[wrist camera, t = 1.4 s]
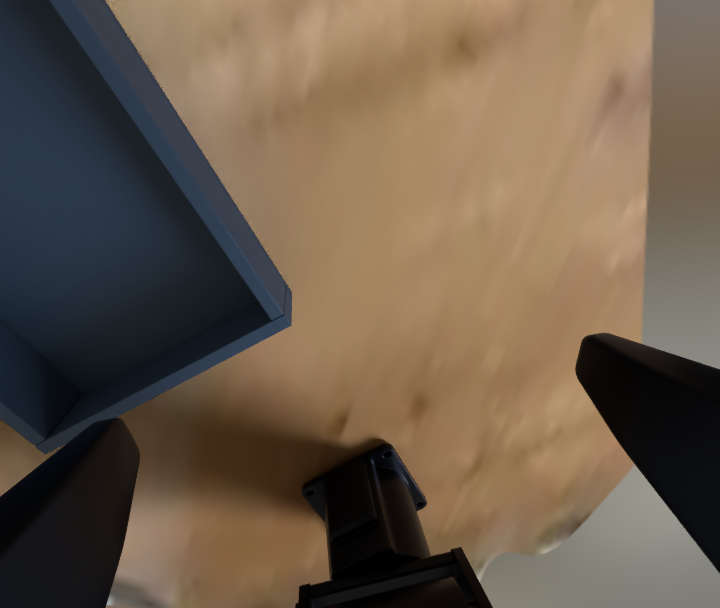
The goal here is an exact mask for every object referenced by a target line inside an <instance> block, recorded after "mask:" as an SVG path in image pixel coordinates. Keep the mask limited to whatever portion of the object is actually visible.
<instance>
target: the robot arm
mask: <svg viewBox="0 0 720 608" xmlns="http://www.w3.org/2000/svg"><path fill="white" fill-rule="evenodd" d="M575 371H576V375H577V378H578V380H579V382H580V383H581V385H582V386H583V388H584V390H585V391H586V393H587V394H588V396H589V397H590V399H591V400H592V402H593V404H594V405H595V407H596V408H597V410H598V411H599V413H600V415H601V416H602V418H603V419H604V421H605V422H606V424H607V426H608V427H609V429H610V430H611V432H612V433H613V435H614V436H615V438H616V439H617V441H618V442H619V444H620V445H621V447H622V448H623V449H624V451H625V452H626V453H627V455H628V456H629V457H630V459H631V460H632V461H633V462H634V464H635V465H636V466H637V468H638V469H639V470H640V471H641V473H642V474H643V475H644V476H645V478H646V479H647V480H648V482H649V483H650V484H651V485H652V487H653V488H654V489H655V491H656V492H657V493H658V495H659V496H660V497H661V498H662V500H663V501H664V502H665V504H666V505H667V506H668V507H669V509H670V510H671V511H672V513H673V514H674V515H675V516H676V517H677V519H678V520H679V522H680V523H681V524H682V525H683V527H684V528H685V529H686V531H687V532H688V533H689V535H690V536H691V537H692V538H693V540H694V541H695V542H696V543H697V545H698V546H699V547H700V549H701V550H702V551H703V553H704V554H705V555H706V556H707V558H708V559H709V560H710V562H711V563H712V564H713V565H714V567H715V568H716V569H717V571H718V572H719V573H720V369H717V368H714V367H711V366H707V365H704V364H702V363H698V362H695V361H692V360H689V359H686V358H683V357H680V356H677V355H673V354H670V353H668V352H664V351H661V350H658V349H655V348H652V347H649V346H646V345H643V344H640V343H637V342H634V341H631V340H627V339H624V338H621V337H618V336H615V335H612V334H609V333H599V334H593V335H588V336H586V337H584V339H583V340H582V342H581V346H580V350H579V354H578V358H577V362H576V367H575ZM387 451H388V452H387ZM385 452H387V453H385ZM139 462H140V452H139V449H138V446H137V444H136V442H135V441H134V439H133V437H132V435H131V433H130V431H129V429H128V428H127V426H126V424H125V422H124V421H123V420H122V419H120V418H112V419H107V420H101V421H97V422H94V423H92V424H91V425H90V426H88V427H87V428H86V429H85V430H83V431H82V432H81V433H80V434H78V435H77V436H76V437H75V438H73V439H72V440H71V441H70V442H68V443H67V444H66V445H65V446H63V447H62V448H61V449H60V450H58V451H57V452H56V453H54V454H53V455H52V456H51V457H49V458H48V459H47V460H46V461H44V462H43V463H42V464H41V465H39V466H38V467H37V468H36V469H34V470H33V471H32V472H31V473H29V474H28V475H27V476H26V477H24V478H23V479H22V480H21V481H19V482H18V483H17V484H16V485H14V486H13V487H12V488H11V489H9V490H8V491H7V492H6V493H4V494H3V495H2V496H1V497H0V608H105V607H106V604H107V601H108V597H109V594H110V591H111V587H112V584H113V581H114V577H115V574H116V570H117V567H118V564H119V560H120V556H121V553H122V549H123V545H124V541H125V536H126V531H127V526H128V521H129V515H130V510H131V505H132V499H133V494H134V489H135V484H136V478H137V473H138V468H139ZM309 490H310V491H309ZM302 495H303V497H304V498H305V499H306V500H307V501H308V503H309V504H310V505H311V506H312V507H313V508H314V509H315V511H316V512H317V513H318V514H319V515H320V516H321V517H322V519H323V520H324V521H325V522H326V535H327V547H328V559H329V572H330V581H326V582H322V583H318V584H314V585H310V583H309V584H305V585H301V586H300V587H299V601H298V603H296V606H295V608H493V607H492V605H491V603H490V601H489V600H488V598H487V596H486V594H485V592H484V590H483V588H482V586H481V584H480V582H479V580H478V579H477V577H476V575H475V573H474V571H473V569H472V567H471V565H470V563H469V561H468V560H467V558H466V556H465V554H464V552H463V550H462V548H461V547H458V548H454V549H451V551H450V552H446V553H442V554H438V555H434V556H431V554H430V551H429V548H428V545H427V542H426V539H425V536H424V533H423V530H422V527H421V523H420V520H419V517H418V514H417V511H418V510H420V509H422V508H424V507H425V506H426V504H427V502H426V499H425V496H424V495H423V493H422V491H421V490H420V488H419V487H418V485H417V484H416V482H415V480H414V479H413V477H412V476H411V474H410V473H409V471H408V469H407V468H406V466H405V465H404V463H403V462H402V460H401V458H400V457H399V455H398V454H397V452H396V451H395V449H394V447H393V446H392V445H390V444H384V445H381V446H379V447H377V448H375V449H373V450H371V451H369V452H367V453H365V454H363V455H361V456H359V457H357V458H355V459H353V460H351V461H349V462H347V463H345V464H343V465H341V466H339V467H337V468H335V469H333V470H331V471H329V472H327V473H325V474H323V475H321V476H319V477H317V478H315V479H313V480H311V481H309V482H307V483H305V484H304V485H303V486H302Z"/></svg>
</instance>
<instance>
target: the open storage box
mask: <svg viewBox="0 0 720 608" xmlns="http://www.w3.org/2000/svg"><path fill="white" fill-rule="evenodd" d="M291 314H292V292H291V290H290V289H289V287H288V285H287V284H286V282H285V281H284V279H283V278H282V276H281V275H280V273H279V271H278V270H277V268H276V267H275V265H274V264H273V262H272V261H271V259H270V257H269V256H268V254H267V253H266V251H265V250H264V248H263V246H262V245H261V243H260V242H259V240H258V239H257V237H256V236H255V234H254V232H253V231H252V229H251V228H250V226H249V225H248V223H247V221H246V220H245V218H244V217H243V215H242V214H241V212H240V211H239V209H238V207H237V206H236V204H235V203H234V201H233V200H232V198H231V196H230V195H229V193H228V192H227V190H226V189H225V187H224V186H223V184H222V182H221V181H220V179H219V178H218V176H217V175H216V173H215V172H214V170H213V168H212V167H211V165H210V164H209V162H208V161H207V159H206V157H205V156H204V154H203V153H202V151H201V150H200V148H199V147H198V145H197V143H196V142H195V140H194V139H193V137H192V136H191V134H190V132H189V131H188V129H187V128H186V126H185V125H184V123H183V122H182V120H181V118H180V117H179V115H178V114H177V112H176V111H175V109H174V108H173V106H172V104H171V103H170V101H169V100H168V98H167V97H166V95H165V93H164V92H163V90H162V89H161V87H160V86H159V84H158V83H157V81H156V79H155V78H154V76H153V75H152V73H151V72H150V70H149V68H148V67H147V65H146V64H145V62H144V61H143V59H142V58H141V56H140V54H139V53H138V51H137V50H136V48H135V47H134V45H133V44H132V42H131V40H130V39H129V37H128V36H127V34H126V33H125V31H124V29H123V28H122V26H121V25H120V23H119V22H118V20H117V19H116V17H115V15H114V14H113V12H112V11H111V9H110V8H109V6H108V4H107V3H106V1H105V0H0V419H1V420H3V421H4V422H5V423H6V424H8V425H9V426H10V427H12V428H13V429H14V430H15V431H17V432H18V433H19V434H20V435H22V436H23V437H24V438H25V439H27V440H28V441H29V442H31V443H32V444H33V445H35V447H36V448H38V449H39V450H40V451H42V452H43V453H44V454H47V453H49V452H51V451H53V450H55V449H57V448H59V447H60V446H62V445H64V444H66V443H68V442H70V441H71V440H72V439H73V438H75V437H76V436H77V435H78V434H80V433H81V432H82V431H83V430H85V429H86V428H87V427H88V426H90V425H91V424H92V423H94V422H97V421H101V420H107V419H112V418H116V417H118V416H120V415H121V414H123V413H125V412H127V411H129V410H131V409H133V408H135V407H137V406H139V405H141V404H142V403H144V402H146V401H148V400H150V399H152V398H154V397H156V396H158V395H160V394H162V393H163V392H165V391H167V390H169V389H171V388H173V387H175V386H177V385H179V384H181V383H183V382H184V381H186V380H188V379H190V378H192V377H194V376H196V375H198V374H200V373H202V372H203V371H205V370H207V369H209V368H211V367H213V366H215V365H217V364H219V363H221V362H223V361H224V360H226V359H228V358H230V357H232V356H234V355H236V354H238V353H240V352H242V351H244V350H245V349H247V348H249V347H251V346H253V345H255V344H257V343H259V342H261V341H263V340H264V339H266V338H268V337H270V336H272V335H274V334H276V333H278V332H280V331H282V330H284V329H285V328H287V327H289V326H291Z"/></svg>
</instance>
